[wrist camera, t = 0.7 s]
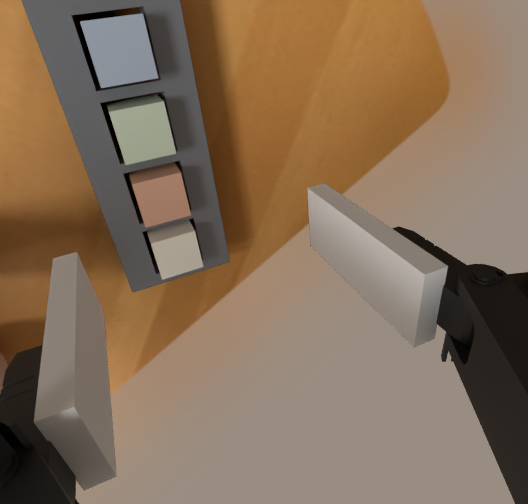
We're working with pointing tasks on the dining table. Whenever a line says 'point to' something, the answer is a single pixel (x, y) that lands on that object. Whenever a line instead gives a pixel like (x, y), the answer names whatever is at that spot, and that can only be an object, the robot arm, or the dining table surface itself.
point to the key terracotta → (160, 194)
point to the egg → (2, 369)
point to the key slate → (120, 49)
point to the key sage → (142, 128)
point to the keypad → (99, 137)
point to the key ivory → (175, 248)
